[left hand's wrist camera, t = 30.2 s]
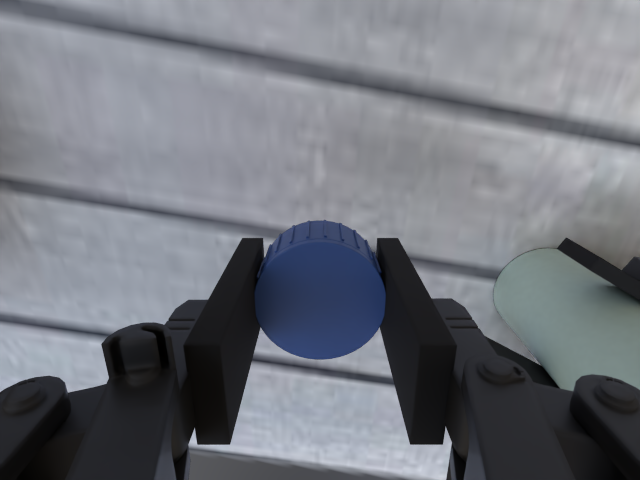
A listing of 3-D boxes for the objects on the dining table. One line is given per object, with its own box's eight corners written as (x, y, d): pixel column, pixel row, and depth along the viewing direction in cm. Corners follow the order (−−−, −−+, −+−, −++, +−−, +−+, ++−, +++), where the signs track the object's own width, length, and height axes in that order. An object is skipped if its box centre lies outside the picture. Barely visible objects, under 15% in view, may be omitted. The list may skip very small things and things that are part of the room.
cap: (378, 215, 14) (388, 237, 12) (378, 322, 15) (387, 358, 13) (255, 221, 14) (244, 244, 12) (267, 327, 15) (259, 363, 13)
